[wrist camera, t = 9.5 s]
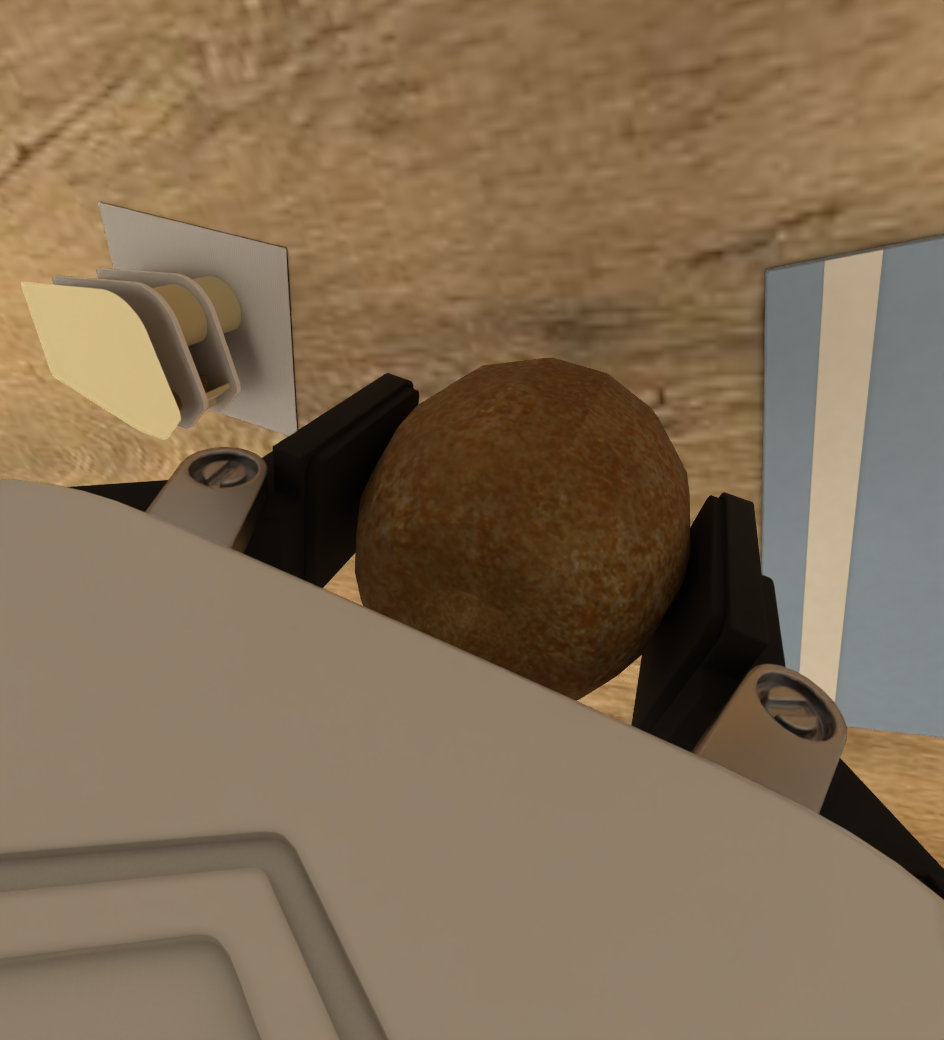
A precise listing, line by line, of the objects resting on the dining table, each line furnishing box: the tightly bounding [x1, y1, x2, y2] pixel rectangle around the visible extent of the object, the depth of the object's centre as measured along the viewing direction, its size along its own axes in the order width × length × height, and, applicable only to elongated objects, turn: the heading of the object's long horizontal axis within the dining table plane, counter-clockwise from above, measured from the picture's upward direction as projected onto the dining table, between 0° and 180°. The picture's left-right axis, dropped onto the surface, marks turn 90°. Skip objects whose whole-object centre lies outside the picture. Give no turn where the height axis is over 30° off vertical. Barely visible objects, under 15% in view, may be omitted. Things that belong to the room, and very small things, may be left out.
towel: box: [761, 234, 944, 738], centre depth 19 cm, size 20×10×1 cm, turn 15°
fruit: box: [355, 358, 690, 701], centre depth 11 cm, size 6×6×8 cm
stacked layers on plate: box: [21, 202, 297, 440], centre depth 24 cm, size 10×9×6 cm
